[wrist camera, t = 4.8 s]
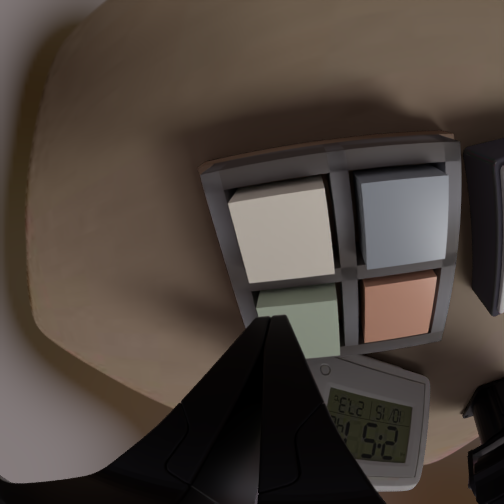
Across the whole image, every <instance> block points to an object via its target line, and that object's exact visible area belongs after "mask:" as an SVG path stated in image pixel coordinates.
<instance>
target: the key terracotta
mask: <svg viewBox="0 0 504 504" xmlns="http://www.w3.org/2000/svg"><path fill="white" fill-rule="evenodd" d="M436 280H437V276H436V274H435V273H434V271H433V269H429V270H422V271H415V272H409V273H402V274H395V275H388V276H381V277H373V278H366V279H359V281H360V320H361V325H362V331H363V336H364V342H365V343H367V342H375V341H382V340H388V339H395V338H401V337H407V336H412V335H418V334H423V333H428V329H429V324H430V319H431V313H432V307H433V301H434V294H435V287H436Z"/></svg>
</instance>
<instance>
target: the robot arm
mask: <svg viewBox="0 0 504 504" xmlns="http://www.w3.org/2000/svg"><path fill="white" fill-rule="evenodd" d="M181 403H182V404H181ZM181 403H179V404H178V405H177V406H176V407H175V408H174V409H173V410H172V411H171V412H170V413H169V414H168V415H167V416H166V417H165V418H164V419H163V420H162V421H161V422H160V423H159V424H158V425H157V426H156V427H155V428H154V429H153V430H151V431H150V432H149V433H148V434H147V435H146V436H144V437H143V438H142V439H141V440H140V441H139V442H137V443H136V444H135V445H134V446H132V447H131V448H130V449H129V450H127V451H126V452H125V453H124V454H122V455H121V456H120V457H118V458H117V459H116V460H115V461H114V462H112V463H111V464H109V465H108V466H107V467H105V468H103V469H102V470H100V471H98V472H96V473H94V474H91V475H87V476H82V477H77V478H70V479H63V480H55V481H46V482H36V483H11V482H9V481H8V480H6V479H5V478H3V477H2V476H0V504H254V503H255V498H256V493H257V489H258V493H259V495H258V503H257V504H386V502H385V501H384V500H383V499H382V497H381V496H380V495H379V493H378V492H377V491H376V489H375V488H374V486H373V485H372V483H371V482H370V480H369V479H368V477H367V476H366V474H365V473H364V471H363V470H362V468H361V467H360V465H359V464H358V462H357V461H356V459H355V458H354V456H353V455H352V453H351V452H350V450H349V449H348V447H347V445H346V444H345V442H344V440H343V439H342V437H341V435H340V433H339V432H338V430H337V428H336V426H335V423H334V421H333V419H332V417H331V415H330V413H329V410H328V408H327V406H326V404H325V403H324V399H323V397H322V395H321V392H320V390H319V388H318V385H317V383H316V381H315V379H314V376H313V374H312V372H311V369H310V367H309V365H308V363H307V360H306V358H305V356H304V353H303V351H302V349H301V347H300V344H299V342H298V340H297V337H296V335H295V333H294V331H293V328H292V326H291V324H290V322H289V319H288V317H287V315H285V314H283V315H273V316H272V317H270V316H260V317H256V318H255V319H254V320H253V321H252V322H251V323H250V324H249V326H248V327H247V328H246V329H245V330H244V331H243V333H242V334H241V335H240V336H239V337H238V338H237V339H236V341H235V342H234V343H233V344H232V345H231V346H230V347H229V349H228V350H227V351H226V352H225V353H224V354H223V355H222V357H221V358H220V359H219V360H218V361H217V362H216V363H215V364H214V365H213V367H212V368H211V369H210V370H209V371H208V372H207V373H206V374H205V375H204V377H203V378H202V379H201V380H200V381H199V382H198V383H197V384H196V385H195V386H194V388H193V389H192V390H191V391H190V392H189V393H188V394H187V395H186V396H185V397H184V398H183V399H182V401H181ZM462 416H463V418H468V417H471V416H474V420H475V423H476V427H477V430H478V434H479V438H480V441H481V446H479V447H477V448H475V449H474V450H471V451H469V452H468V469H469V481H468V488H469V489H471V490H472V491H473V493H474V495H475V496H476V501H477V502H478V504H504V379H501V380H499V381H496V382H493V383H490V384H487V385H484V386H481V387H479V388H478V389H477V390H476V392H475V394H474V395H473V397H472V399H471V401H470V403H469V405H468V406H467V408H466V410H465V412H464V413H463V415H462Z"/></svg>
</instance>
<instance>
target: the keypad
mask: <svg viewBox="0 0 504 504" xmlns="http://www.w3.org/2000/svg"><path fill="white" fill-rule="evenodd" d="M420 164H431V165H432V166H434V167H436V168H437V169H439V170H441V171H442V172H444V173H446V174H447V175H449V206H448V229H447V243H446V254H445V259H439V260H433V261H426V262H419V263H412V264H405V265H398V266H391V267H384V268H377V269H369V270H367V268H366V265H365V262H364V259H363V256H362V253H361V250H360V245H359V231H358V218H357V207H356V197H355V188H354V179H353V171H358V170H366V169H376V168H386V167H396V166H407V165H420ZM197 168H198V172H199V175H200V179H201V182H202V186H203V189H204V193H205V197H206V200H207V204H208V207H209V211H210V214H211V217H212V221H213V224H214V228H215V231H216V235H217V238H218V241H219V245H220V248H221V251H222V255H223V258H224V261H225V265H226V268H227V271H228V275H229V278H230V281H231V284H232V288H233V291H234V294H235V297H236V300H237V304H238V307H239V310H240V313H241V316H242V319H243V323H244V326H245V329H246V328H247V327H248V326H249V324H250V323H251V322H252V321H253V320H254V319H255V318H256V317H258V313H257V310H256V306H257V302H258V297H259V293H260V290H270V289H280V288H290V287H299V286H308V285H317V284H325V283H334V282H335V288H336V295H337V306H338V321H339V339H340V355H339V356H329V357H318V358H306V360H311V359H322V358H333V357H342V356H351V355H359V354H367V353H374V352H381V351H387V350H394V349H400V348H406V347H411V346H417V345H422V344H427V343H432V342H437V341H441V339H442V335H443V331H444V326H445V322H446V318H447V313H448V308H449V303H450V298H451V292H452V286H453V280H454V274H455V267H456V259H457V251H458V241H459V229H460V214H461V147H460V141H457V140H454V134H452V133H449V132H446V131H442V130H440V131H414V132H398V133H384V134H373V135H362V136H353V137H344V138H336V139H328V140H320V141H313V142H307V143H300V144H294V145H287V146H281V147H276V148H270V149H265V150H259V151H254V152H249V153H244V154H239V155H234V156H229V157H225V158H220V159H216V160H211V161H207V162H205V163H203V164H202V165H200V166H199V167H197ZM318 175H321V177H322V180H323V184H324V188H325V195H326V202H327V209H328V217H329V225H330V233H331V241H332V250H333V260H334V270H335V274H329V275H321V276H312V277H304V278H295V279H286V280H277V281H267V282H257V283H249V280H248V277H247V273H246V269H245V266H244V262H243V258H242V255H241V251H240V247H239V243H238V240H237V236H236V232H235V229H234V225H233V221H232V217H231V214H230V210H229V206H228V202H229V201H230V199H231V198H232V197H233V195H234V194H235V192H236V191H237V189H238V188H243V187H249V186H254V185H260V184H266V183H272V182H278V181H284V180H291V179H297V178H304V177H311V176H318ZM429 269H433V271H434V273H435V274H436V276H437V280H436V287H435V294H434V301H433V307H432V313H431V319H430V324H429V329H428V333H423V334H418V335H412V336H407V337H401V338H395V339H388V340H382V341H375V342H367V343H365V342H364V336H363V331H362V325H361V320H360V281H359V279H366V278H373V277H381V276H388V275H395V274H402V273H409V272H415V271H422V270H429Z"/></svg>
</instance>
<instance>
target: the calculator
mask: <svg viewBox="0 0 504 504" xmlns="http://www.w3.org/2000/svg"><path fill="white" fill-rule="evenodd" d="M463 157H464V163H465V170H466V176H467V184H468V192H469V201H470V212H471V226H472V254H473V269H472V290H473V291H474V292H475V294H476V295H477V296H478V298H479V299H480V300H481V302H482V303H483V304H484V306H485V307H486V309H487V310H488V311H489V313H490V314H491V315H492V316H497V315H499V314H501V313H503V312H504V138H502V139H498V140H494V141H489V142H485V143H481V144H477V145H473V146H469V147H466V148H465V149H464V152H463Z"/></svg>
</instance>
